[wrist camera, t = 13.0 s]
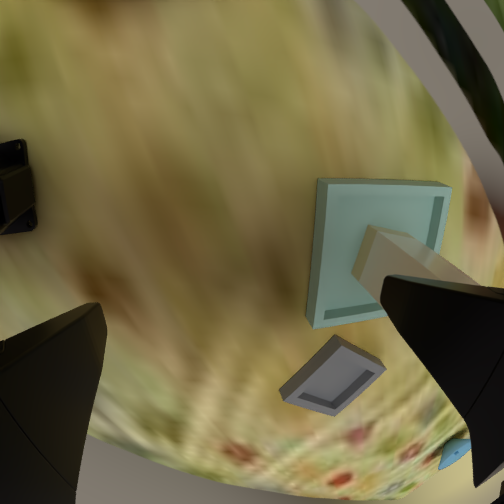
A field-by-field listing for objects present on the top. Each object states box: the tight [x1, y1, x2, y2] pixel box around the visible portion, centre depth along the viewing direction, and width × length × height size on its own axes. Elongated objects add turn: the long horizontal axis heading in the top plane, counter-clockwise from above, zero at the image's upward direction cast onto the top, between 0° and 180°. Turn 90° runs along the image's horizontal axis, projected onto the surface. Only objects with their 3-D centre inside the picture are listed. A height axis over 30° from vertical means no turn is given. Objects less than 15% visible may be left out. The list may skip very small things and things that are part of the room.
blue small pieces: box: [438, 438, 471, 470], centre depth 48 cm, size 18×10×9 cm, turn 135°
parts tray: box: [306, 178, 452, 329], centre depth 25 cm, size 12×12×2 cm
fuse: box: [351, 225, 481, 308], centre depth 20 cm, size 4×4×12 cm
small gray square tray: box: [279, 335, 386, 417], centre depth 30 cm, size 8×9×2 cm
